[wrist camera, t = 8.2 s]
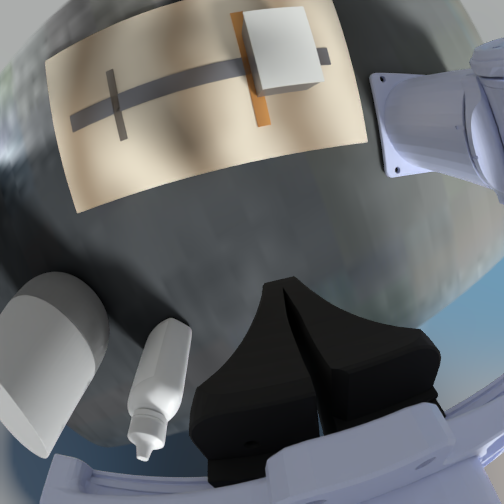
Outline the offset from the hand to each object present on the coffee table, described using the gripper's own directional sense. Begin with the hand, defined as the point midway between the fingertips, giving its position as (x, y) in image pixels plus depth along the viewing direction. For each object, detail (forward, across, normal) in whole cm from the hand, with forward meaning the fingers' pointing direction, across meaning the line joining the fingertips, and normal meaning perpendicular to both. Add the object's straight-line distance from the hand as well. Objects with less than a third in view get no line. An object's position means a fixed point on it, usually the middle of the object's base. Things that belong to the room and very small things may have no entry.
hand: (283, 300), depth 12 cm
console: (+9, +2, -11) cm, 15 cm away
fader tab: (+7, -3, -11) cm, 13 cm away
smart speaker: (+10, +18, +3) cm, 21 cm away
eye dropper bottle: (+10, +10, +8) cm, 16 cm away
